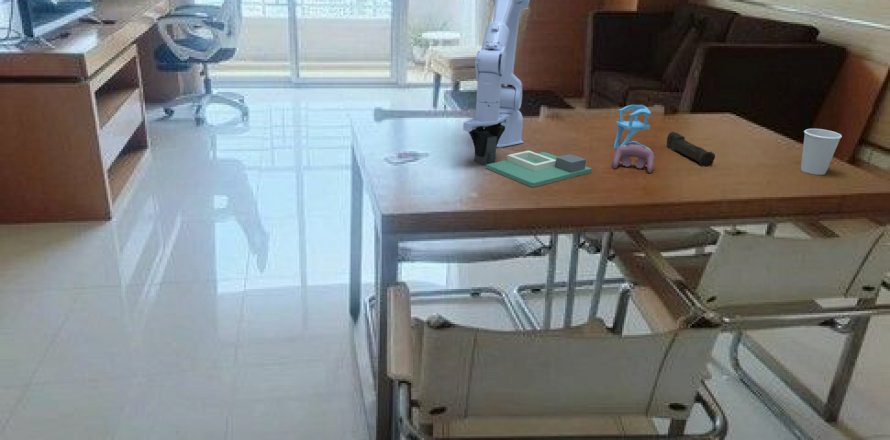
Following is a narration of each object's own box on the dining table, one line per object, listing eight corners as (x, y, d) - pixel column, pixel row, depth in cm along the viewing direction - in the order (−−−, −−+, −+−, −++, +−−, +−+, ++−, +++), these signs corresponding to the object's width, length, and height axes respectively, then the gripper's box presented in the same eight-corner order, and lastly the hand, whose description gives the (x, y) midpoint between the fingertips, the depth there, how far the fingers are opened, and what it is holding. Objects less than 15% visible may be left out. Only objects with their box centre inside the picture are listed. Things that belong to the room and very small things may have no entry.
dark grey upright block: (481, 158, 169) (482, 131, 167) (497, 164, 165) (499, 136, 162) (472, 159, 168) (473, 132, 165) (488, 166, 163) (489, 138, 161)
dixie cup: (836, 171, 169) (846, 133, 165) (825, 178, 164) (836, 139, 160) (801, 163, 174) (810, 126, 171) (790, 170, 169) (799, 132, 165)
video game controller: (652, 176, 166) (656, 148, 166) (652, 173, 162) (657, 144, 162) (611, 170, 169) (616, 143, 169) (611, 167, 164) (615, 140, 165)
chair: (608, 146, 184) (613, 103, 179) (634, 144, 187) (640, 101, 182) (623, 154, 177) (629, 109, 173) (650, 152, 180) (657, 108, 175)
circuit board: (543, 155, 173) (545, 142, 172) (591, 172, 162) (593, 158, 160) (486, 168, 162) (486, 154, 160) (532, 187, 150) (534, 172, 149)
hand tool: (714, 167, 170) (717, 149, 168) (699, 167, 169) (703, 149, 167) (675, 146, 187) (678, 130, 185) (662, 146, 186) (665, 130, 185)
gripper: (495, 93, 168) (492, 145, 173) (455, 101, 158) (452, 156, 163) (517, 99, 163) (513, 152, 168) (476, 107, 154) (473, 163, 159)
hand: (485, 154), depth 166 cm, fingers closed on dark grey upright block, 3 cm apart
